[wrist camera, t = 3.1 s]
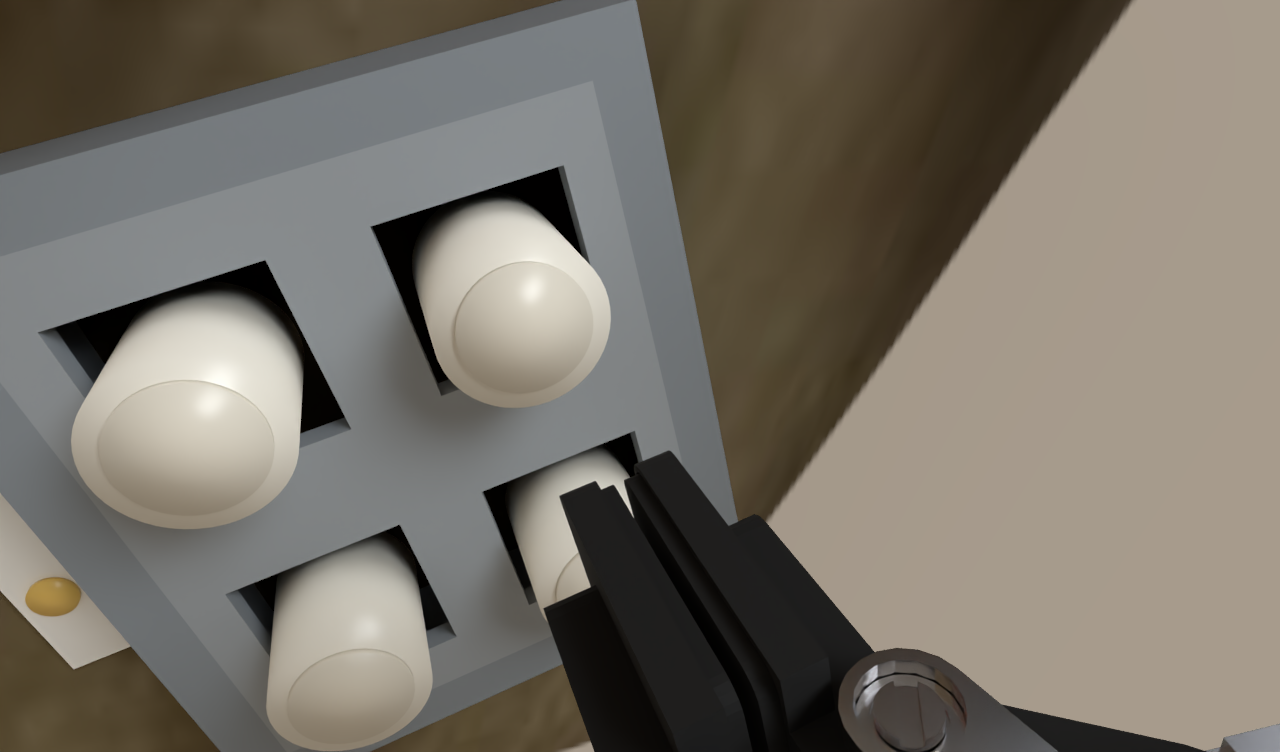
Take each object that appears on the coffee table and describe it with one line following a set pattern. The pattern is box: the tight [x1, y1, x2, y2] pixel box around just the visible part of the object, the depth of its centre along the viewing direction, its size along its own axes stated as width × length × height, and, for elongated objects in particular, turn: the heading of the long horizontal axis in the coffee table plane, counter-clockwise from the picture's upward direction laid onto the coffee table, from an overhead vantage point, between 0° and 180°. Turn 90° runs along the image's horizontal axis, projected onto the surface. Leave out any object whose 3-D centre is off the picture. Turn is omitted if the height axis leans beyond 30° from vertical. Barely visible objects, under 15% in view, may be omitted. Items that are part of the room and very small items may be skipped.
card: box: [0, 493, 131, 669], centre depth 23 cm, size 4×11×1 cm, turn 13°
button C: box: [71, 281, 305, 529], centre depth 18 cm, size 4×4×5 cm
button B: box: [505, 444, 634, 622], centre depth 24 cm, size 4×4×5 cm
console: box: [0, 0, 738, 752], centre depth 24 cm, size 18×20×5 cm
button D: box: [266, 531, 433, 751], centre depth 22 cm, size 4×4×5 cm
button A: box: [412, 191, 611, 408], centre depth 20 cm, size 4×4×5 cm
